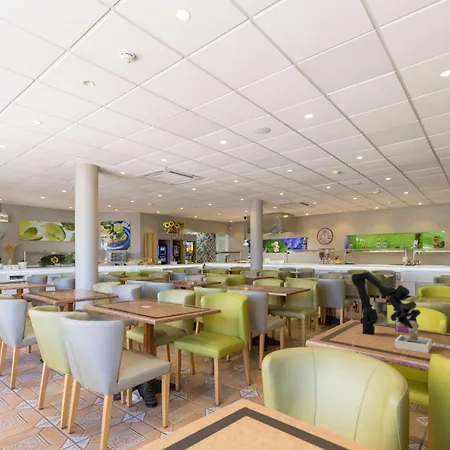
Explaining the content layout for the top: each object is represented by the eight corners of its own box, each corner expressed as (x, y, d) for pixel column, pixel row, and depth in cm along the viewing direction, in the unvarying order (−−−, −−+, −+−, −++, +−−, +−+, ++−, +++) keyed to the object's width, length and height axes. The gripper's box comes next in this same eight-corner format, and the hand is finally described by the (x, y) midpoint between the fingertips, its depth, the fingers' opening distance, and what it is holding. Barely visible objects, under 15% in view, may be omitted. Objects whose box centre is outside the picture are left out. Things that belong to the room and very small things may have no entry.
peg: (410, 340, 194) (410, 322, 194) (407, 338, 198) (407, 320, 199) (419, 340, 193) (418, 322, 194) (415, 338, 198) (415, 320, 198)
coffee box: (386, 323, 253) (386, 301, 254) (387, 325, 247) (387, 302, 248) (373, 323, 256) (372, 300, 257) (374, 324, 250) (373, 302, 250)
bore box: (395, 347, 194) (394, 340, 194) (400, 341, 206) (400, 334, 207) (428, 353, 184) (427, 345, 184) (431, 346, 197) (431, 338, 197)
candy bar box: (394, 331, 231) (394, 306, 232) (395, 329, 235) (395, 305, 236) (414, 333, 225) (413, 307, 226) (414, 332, 229) (413, 306, 230)
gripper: (394, 297, 197) (412, 321, 186) (417, 295, 204) (435, 318, 193) (383, 309, 204) (399, 332, 193) (406, 306, 211) (423, 329, 200)
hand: (415, 328), depth 195 cm, fingers closed on peg, 4 cm apart
